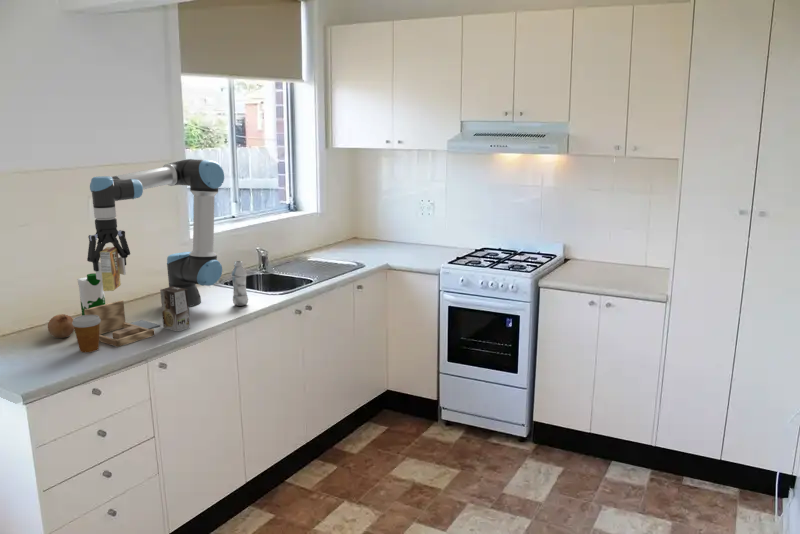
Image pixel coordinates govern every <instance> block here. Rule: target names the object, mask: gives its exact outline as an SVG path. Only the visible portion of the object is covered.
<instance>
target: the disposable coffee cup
mask: <svg viewBox="0 0 800 534" xmlns="http://www.w3.org/2000/svg"><path fill="white" fill-rule="evenodd" d="M72 319H73V322H72V325H73V326H74V332H75V337H76V339H77V344H78V349H79V351H80V352H81V353H94V352H95V351H98V350H99V348H100V341H99V329H100V321H101V319H100V318H99V316H98V315H83V316H82V315H79V316H76V317H74V318H72Z"/></svg>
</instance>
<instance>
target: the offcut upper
mask: <svg viewBox="0 0 800 534" xmlns="http://www.w3.org/2000/svg"><path fill="white" fill-rule="evenodd" d="M111 332H112V333H111V335H112V339H113V338H115V339H120V338H123V337H126V336H130V335H133V334H136V333H140V331H139V327H134V326H131V327H128V328H121V329H117V330H114V331H111Z"/></svg>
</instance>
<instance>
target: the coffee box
mask: <svg viewBox="0 0 800 534" xmlns="http://www.w3.org/2000/svg"><path fill="white" fill-rule="evenodd" d="M160 302H161V313H162V325H163V329H166V330H171V331H174V332H181V331H183V330H187V329H190V327H191V325H190V312H189V310H190V309H189V307H188V295H187V289H184V288H179V287H174V286H172V287H169V286H168V287H166V288H161V289H160Z"/></svg>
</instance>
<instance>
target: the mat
mask: <svg viewBox="0 0 800 534" xmlns="http://www.w3.org/2000/svg"><path fill="white" fill-rule="evenodd" d="M130 324H133V325H137V326H140V327H144V328H147V329H156V328H159V327H161V324H159V323H154V322H152V321H148V320H143V319H140V320H136V321H134V322H130Z"/></svg>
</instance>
